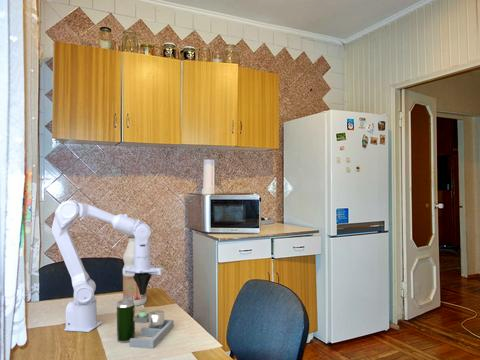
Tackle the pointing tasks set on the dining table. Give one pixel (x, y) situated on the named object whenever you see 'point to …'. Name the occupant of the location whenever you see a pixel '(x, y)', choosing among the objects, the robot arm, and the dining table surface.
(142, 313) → the button
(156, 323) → the metal billet
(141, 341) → the grey piece
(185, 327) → the dining table surface
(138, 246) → the robot arm
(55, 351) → the dining table surface
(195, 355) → the dining table surface
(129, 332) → the beer can
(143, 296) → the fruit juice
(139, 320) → the button housing
